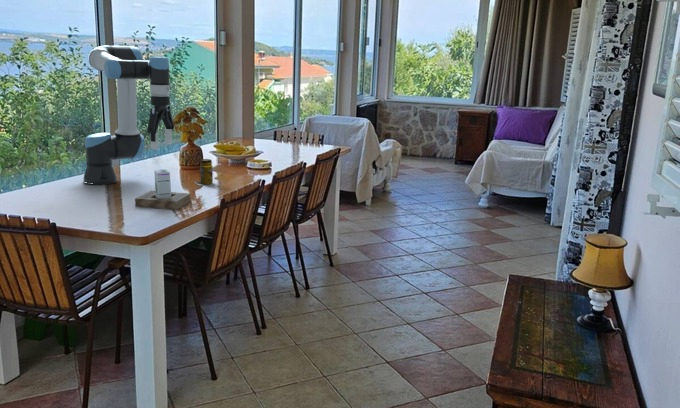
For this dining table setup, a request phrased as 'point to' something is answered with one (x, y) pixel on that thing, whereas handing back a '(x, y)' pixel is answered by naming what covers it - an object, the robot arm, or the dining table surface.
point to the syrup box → (162, 184)
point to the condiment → (206, 172)
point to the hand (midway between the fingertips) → (161, 146)
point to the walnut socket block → (162, 200)
